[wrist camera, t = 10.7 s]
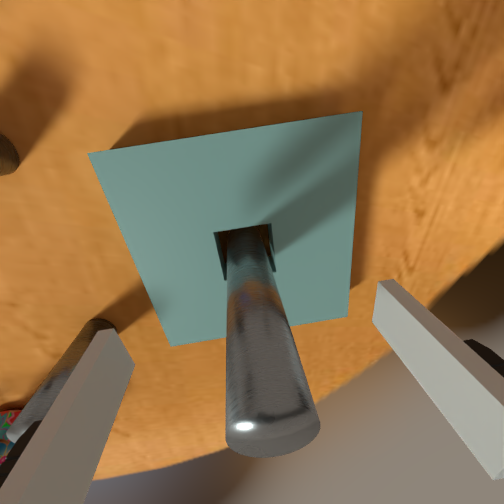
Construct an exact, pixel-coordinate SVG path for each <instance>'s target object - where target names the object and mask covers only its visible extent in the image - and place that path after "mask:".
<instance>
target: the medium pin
mask: <svg viewBox="0 0 504 504" xmlns="http://www.w3.org/2000/svg"><path fill="white" fill-rule="evenodd" d="M112 328H114V329H115V331H116V333H117V330H116V327H115V326H114V325H113V324H112V323H110V322H109V321H106V320H103V319H93V320H90V321H88V322H87V323H86V324H85V326H84V327H83V328H82V330H81V331H80V332H79V334H78V335H77V337H76V338H75V339H74V341H73V342H72V343H71V345H70V346H69V347H68V349H67V350H66V351H65V353H64V354H63V356H62V357H61V358H60V360H59V361H58V362H57V364H56V365H55V366H54V368H53V369H52V370H51V372H50V373H49V375H48V376H47V377H46V379H45V380H44V381H43V383H42V384H41V385H40V387H39V388H38V389H37V391H36V392H35V394H34V395H33V396H32V398H31V399H30V400H29V402H28V403H27V404H26V406H25V407H24V408H23V410H22V411H21V413H20V414H19V415H18V417H17V418H16V419H15V421H14V422H13V423H12V425H11V426H10V427H9V429H8V430H7V432H6V435H7V437H8V439H9V440H10V441H12V442H13V443H16V441H17V440H18V438H19V437H20V436H21V435H22V434H23V433H24V432H25V431H26V430H27V429H28V428H29V427H30V426H31V425H32V424H33V422H34V421H39V420H43V419H44V417H45V416H46V414H47V412H48V411H49V409H50V408H51V406H52V404H53V403H54V401H55V399H56V398H57V396H58V395H59V393H60V391H61V390H62V388H63V387H64V385H65V383H66V382H67V380H68V378H69V377H70V375H71V374H72V372H73V370H74V369H75V367H76V366H77V364H78V362H79V361H80V359H81V357H82V356H83V354H84V353H85V351H86V349H87V348H88V346H89V345H90V343H91V341H92V340H93V338H94V336H95V335H96V333H97V332H98V331H101V330H106V329H112Z"/></svg>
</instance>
